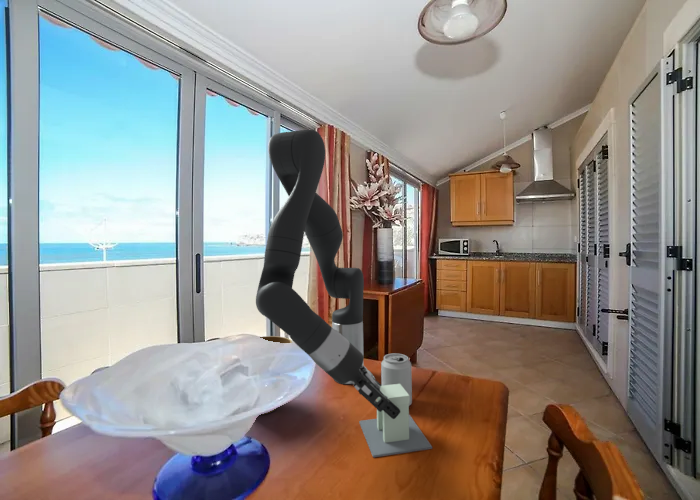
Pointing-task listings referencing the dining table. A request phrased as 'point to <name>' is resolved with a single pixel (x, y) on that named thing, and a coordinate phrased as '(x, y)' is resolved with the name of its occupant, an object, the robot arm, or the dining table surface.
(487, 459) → the dining table surface
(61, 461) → the dining table surface
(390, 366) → the can
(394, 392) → the pale green upright block
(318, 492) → the dining table surface
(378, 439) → the mat
